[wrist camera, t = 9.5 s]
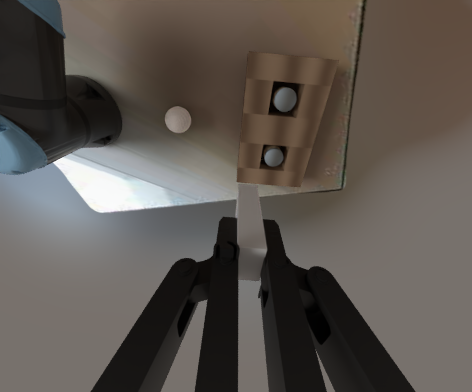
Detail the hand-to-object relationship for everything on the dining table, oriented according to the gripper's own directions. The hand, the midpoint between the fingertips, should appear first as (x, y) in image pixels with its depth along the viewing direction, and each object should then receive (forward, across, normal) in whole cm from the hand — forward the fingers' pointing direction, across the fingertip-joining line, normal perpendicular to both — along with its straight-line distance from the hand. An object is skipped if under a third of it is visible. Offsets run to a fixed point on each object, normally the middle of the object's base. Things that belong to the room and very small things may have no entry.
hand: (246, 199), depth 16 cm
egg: (+35, -14, -1) cm, 37 cm away
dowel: (+35, +8, -7) cm, 36 cm away
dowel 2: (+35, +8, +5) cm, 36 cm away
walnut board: (+34, +8, -1) cm, 35 cm away
